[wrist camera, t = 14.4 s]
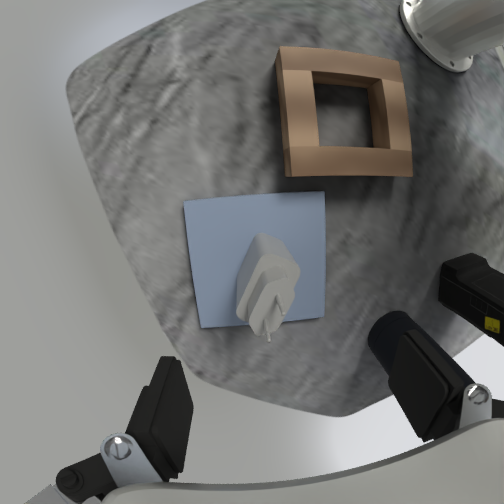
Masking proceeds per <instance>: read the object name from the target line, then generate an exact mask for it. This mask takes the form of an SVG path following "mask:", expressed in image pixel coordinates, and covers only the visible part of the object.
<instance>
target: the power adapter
mask: <svg viewBox="0 0 504 504" xmlns="http://www.w3.org/2000/svg"><path fill="white" fill-rule="evenodd" d="M300 272H301V271H300V268H299V266H298V264H297V263H296V261H295V260H294V258H293V257H292V255H291V254H290V252H289V251H288V249H287V248H286V246H285V244H284V243H283V242H282V241H281V240H279V239H277V238H275V237H272V236H270V235H268V234H265V233H258V234H256V235H255V236H254V238H253V240H252V242H251V245H250V247H249V249H248V252H247V254H246V256H245V258H244V261H243V263H242V265H241V268H240V270H239V272H238V275H237V305H236V314H237V316H238V317H239V318H240V319H241V320H243V321H246V322H248V323H249V324H250V326H251V328H252V330H253V331H254V333H255V335H256V336H263V335H266V338H267V342H268V343H270V342H271V335H270V333H273V332H275V331H276V330H277V329H278V328H279V327H280V325H281V323H282V321H283V319H284V317H285V316H286V314H287V312H288V310H289V308H290V306H291V304H292V302H293V300H294V298H295V292H294V287H295V285H296V283H297V281H298V279H299V277H300Z"/></svg>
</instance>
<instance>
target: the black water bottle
mask: <svg viewBox="0 0 504 504" xmlns="http://www.w3.org/2000/svg"><path fill="white" fill-rule="evenodd" d="M414 329H416V330H417V331H418V332H419V333H420V334H421V335H422V336H423V337H424V338H425V339H426V340H427V341H428V342H429V343H430V344H431V346H432V347H433V348H434V349H435V350H436V351H437V352H438V353H439V354H440V355H441V357H442V358H443V359H444V360H445V361H446V362H447V363H448V364H449V366H450V367H451V368H452V369H453V370H454V371H455V373H456V374H457V375H458V376H459V377H460V378H461V380H462V381H463V382H464V385H463V386H464V387H465V388H466V387H467V386H469V385H470V384H476V383H475V382H474V381H473V380H472V378H471V377H470V376H469V375H468V374H467V373H466V372H465V371H464V370H463V369H462V368H461V367H460V366H459V365H458V364H457V363H456V362H455V361H454V360H453V359H452V358H451V357H450V356H449V355H448V354H447V353H446V352H445V351H444V350H443V349H442V348H441V347H440V346H439V345H438V344H437V343H436V342H435V341H434V340H433V339H432V338H431V337H430V336H429V335H428V334H427V333H426V332H425V331H424V330H423V329H422V328H421V327H420V326H419V325H418V324H417V323H416V322H414V321H413V320H412V319H411V318H410V317H409V316H408V315H407V314H406V313H405V312H401V311H393V312H390V313H388V314H386V315H384V316H383V317H381V318H380V319H379V320H378V321H377V322H376V323H375V324H374V326H373V328H372V329H371V331H370V334H369V338H368V342H369V347H370V349H371V350H372V352H373V353H374V355H375V356H376V358H377V359H378V361H379V362H380V364H381V365H382V366H383V368H384V369H385V371H386V372H387V374H388V375H389V376H390V373H391V369H392V366H393V362H394V358H395V355H396V351H397V347H398V342H399V338H400V336H402V334H403V333H404V332H405V331H410V330H414ZM433 439H434V440H436V439H435V438H433Z"/></svg>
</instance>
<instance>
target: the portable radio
mask: <svg viewBox="0 0 504 504" xmlns="http://www.w3.org/2000/svg"><path fill="white" fill-rule="evenodd" d="M439 302H441V303H442V305H443V306H445V307H447V308H448V309H450V310H451V311H453V312H455V313H456V314H458V315H459V316H461V317H462V318H464V319H465V320H467V321H468V322H470V323H471V324H472V325H474V326H475V327H477V328H478V329H479V330H481V331H482V332H484V333H485V334H486V335H488V336H489V337H492V338H493V339H495V340H496V341H497V342H498V343H500V344H501V345H502V346H504V274H503V273H501V272H499V271H497V270H495V269H493V268H491V267H490V266H489V265H488V263H487V260H486V259H485V258H483V257H481V256H478V255H476V254H474V253H469V254H466V255H463V256H460V257H457V258H454V259H451V260H448V261H445V262H444V263H443V266H442V269H441V276H440V291H439Z"/></svg>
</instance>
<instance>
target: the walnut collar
mask: <svg viewBox="0 0 504 504" xmlns="http://www.w3.org/2000/svg"><path fill="white" fill-rule="evenodd" d="M275 67H276V76H277V86H278V96H279V106H280V118H281V129H282V142H283V155H284V170H285V177H293V176H328V175H370V176H404V177H413V166H412V149H411V137H410V127H409V118H408V111H407V104H406V97H405V91H404V85H403V80H402V75H401V70H400V65H399V61H395V60H390V59H386V58H381V57H376V56H371V55H366V54H360V53H353V52H346V51H339V50H330V49H320V48H307V47H282V46H280V47H279V50H278V53H277V56H276V59H275ZM313 83H316V84H332V85H343V86H353V87H361V88H367V93H368V100H369V108H370V116H371V125H372V135H373V148H365V147H339V146H319V137H318V126H317V115H316V106H315V97H314V88H313Z"/></svg>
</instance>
